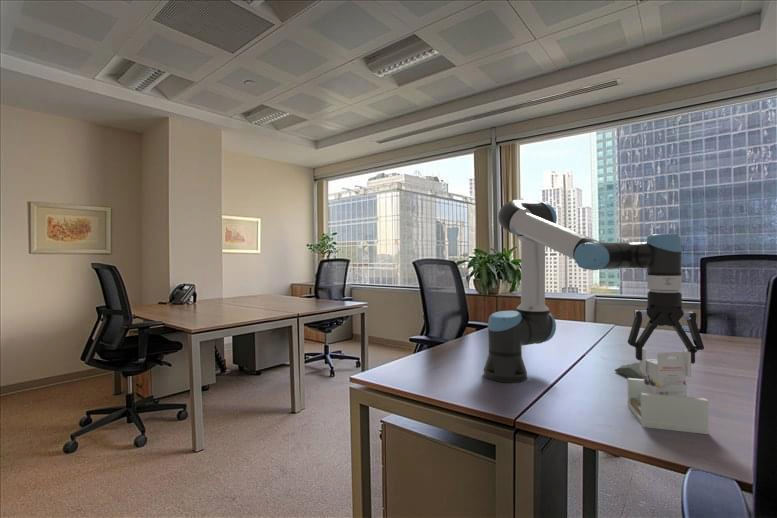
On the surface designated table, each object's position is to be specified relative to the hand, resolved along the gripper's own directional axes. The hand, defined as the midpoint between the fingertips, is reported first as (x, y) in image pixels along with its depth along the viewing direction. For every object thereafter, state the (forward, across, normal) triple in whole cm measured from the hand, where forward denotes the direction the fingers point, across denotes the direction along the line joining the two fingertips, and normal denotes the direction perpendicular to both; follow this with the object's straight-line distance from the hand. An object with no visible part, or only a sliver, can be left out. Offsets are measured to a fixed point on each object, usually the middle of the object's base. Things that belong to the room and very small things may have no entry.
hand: (664, 373), depth 104 cm
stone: (+13, +7, +38) cm, 41 cm away
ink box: (+8, 0, 0) cm, 8 cm away
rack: (+12, 0, 0) cm, 12 cm away
